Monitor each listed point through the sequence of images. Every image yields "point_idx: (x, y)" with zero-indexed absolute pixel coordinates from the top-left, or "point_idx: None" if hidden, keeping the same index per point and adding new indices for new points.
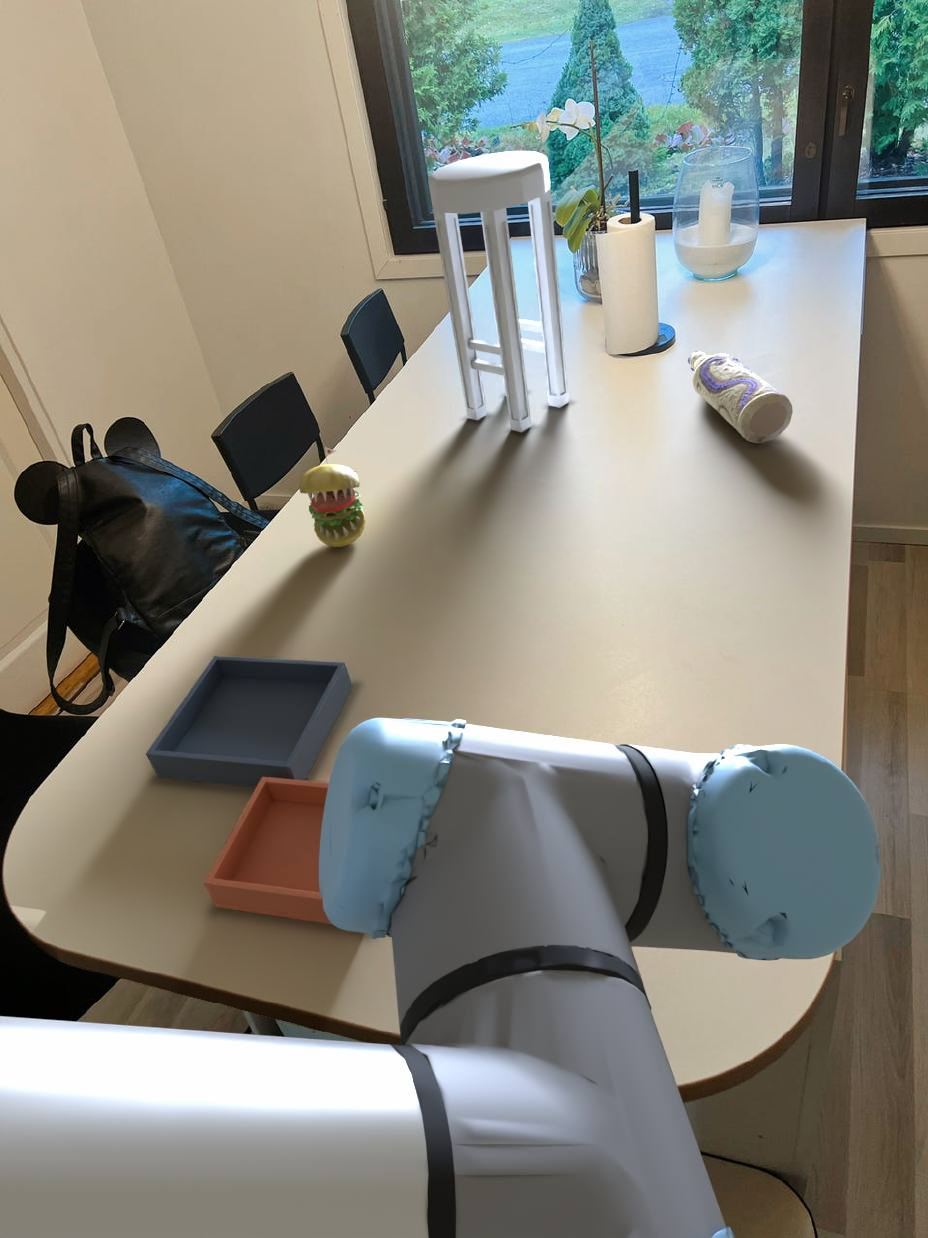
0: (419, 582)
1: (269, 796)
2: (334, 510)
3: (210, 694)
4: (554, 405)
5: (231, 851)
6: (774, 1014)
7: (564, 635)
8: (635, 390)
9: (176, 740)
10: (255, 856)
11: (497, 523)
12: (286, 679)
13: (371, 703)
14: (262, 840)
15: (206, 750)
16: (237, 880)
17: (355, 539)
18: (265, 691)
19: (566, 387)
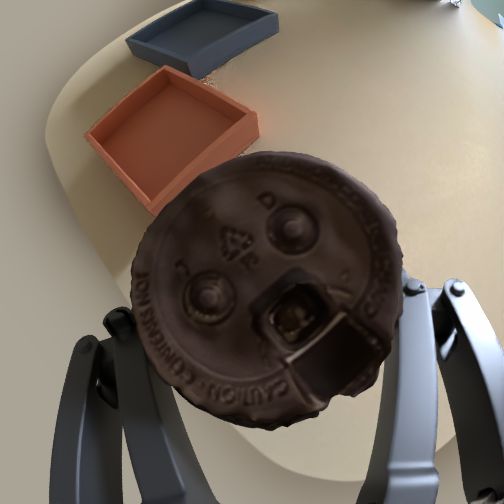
0: (356, 7)
1: (166, 80)
2: None
3: (189, 15)
4: (452, 3)
5: (113, 115)
6: None
7: (443, 83)
8: (488, 26)
9: (151, 35)
10: (133, 122)
11: (415, 13)
12: (237, 16)
13: (284, 45)
14: (144, 111)
15: (162, 43)
16: (114, 136)
17: None
18: (220, 19)
19: (461, 1)
